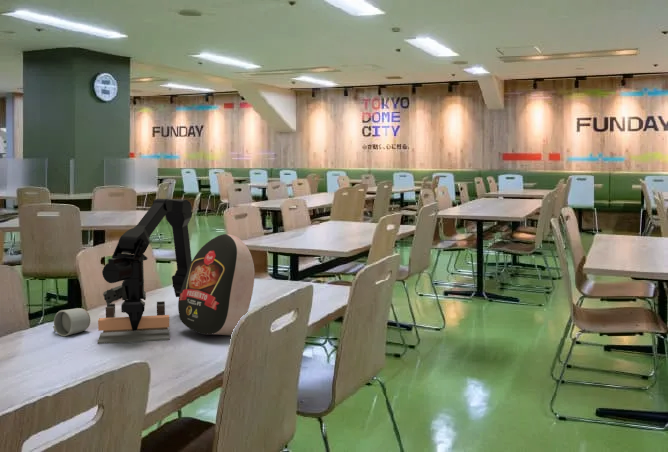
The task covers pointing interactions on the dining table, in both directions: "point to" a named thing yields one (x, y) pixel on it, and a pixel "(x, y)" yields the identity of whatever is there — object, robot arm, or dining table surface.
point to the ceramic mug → (71, 321)
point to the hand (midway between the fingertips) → (134, 329)
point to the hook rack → (160, 311)
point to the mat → (134, 336)
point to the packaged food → (217, 286)
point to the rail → (124, 323)
